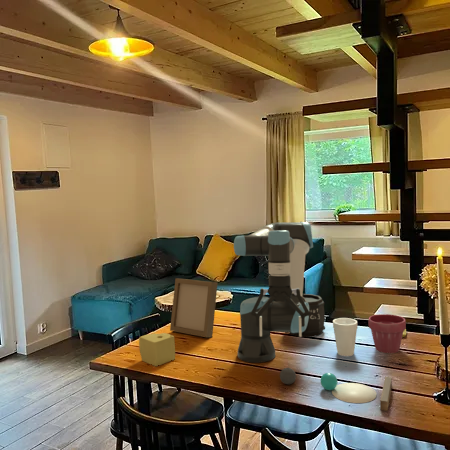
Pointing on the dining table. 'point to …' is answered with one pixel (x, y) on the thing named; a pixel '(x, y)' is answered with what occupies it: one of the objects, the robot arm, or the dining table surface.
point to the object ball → (328, 381)
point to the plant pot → (387, 332)
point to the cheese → (157, 348)
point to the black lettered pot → (314, 316)
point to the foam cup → (345, 335)
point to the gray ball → (287, 376)
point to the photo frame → (194, 307)
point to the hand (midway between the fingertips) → (280, 335)
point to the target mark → (354, 393)
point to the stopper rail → (386, 394)
